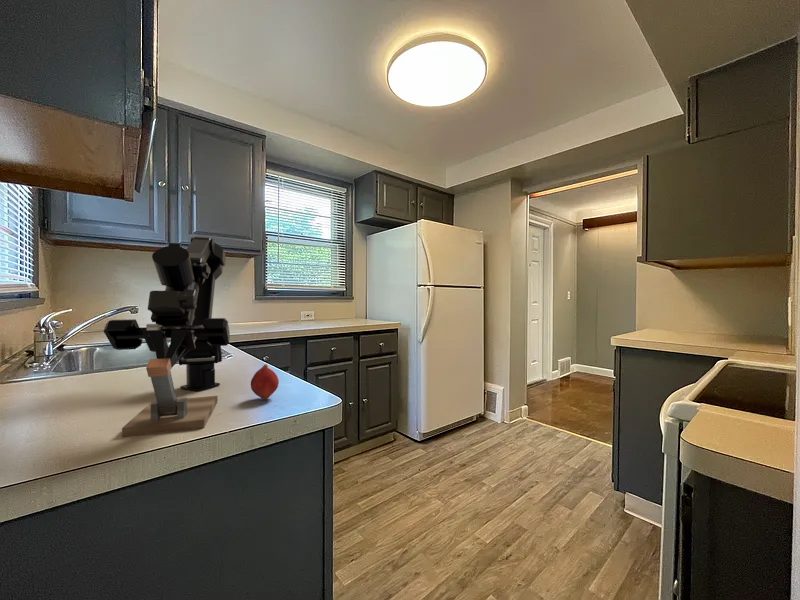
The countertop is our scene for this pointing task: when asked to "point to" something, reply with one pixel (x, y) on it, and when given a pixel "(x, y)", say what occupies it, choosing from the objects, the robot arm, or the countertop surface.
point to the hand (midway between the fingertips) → (162, 373)
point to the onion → (264, 382)
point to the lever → (163, 385)
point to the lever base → (172, 417)
